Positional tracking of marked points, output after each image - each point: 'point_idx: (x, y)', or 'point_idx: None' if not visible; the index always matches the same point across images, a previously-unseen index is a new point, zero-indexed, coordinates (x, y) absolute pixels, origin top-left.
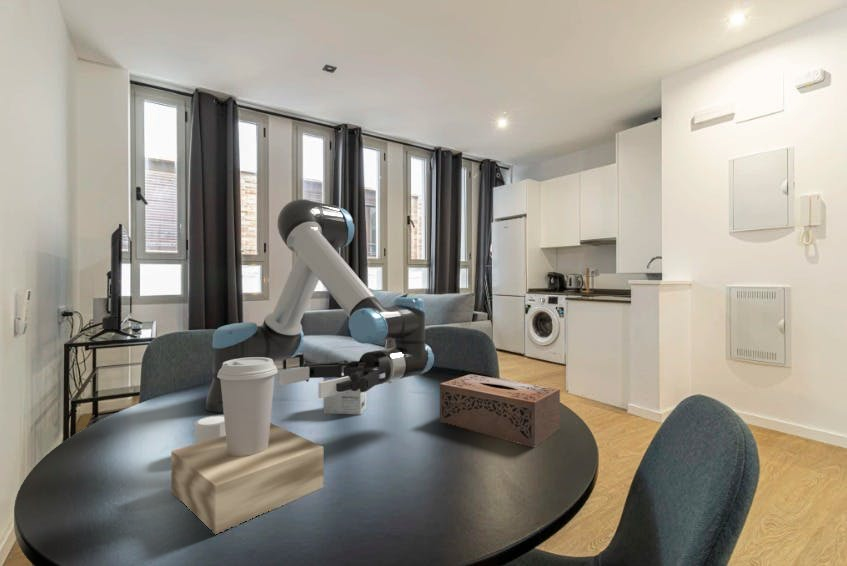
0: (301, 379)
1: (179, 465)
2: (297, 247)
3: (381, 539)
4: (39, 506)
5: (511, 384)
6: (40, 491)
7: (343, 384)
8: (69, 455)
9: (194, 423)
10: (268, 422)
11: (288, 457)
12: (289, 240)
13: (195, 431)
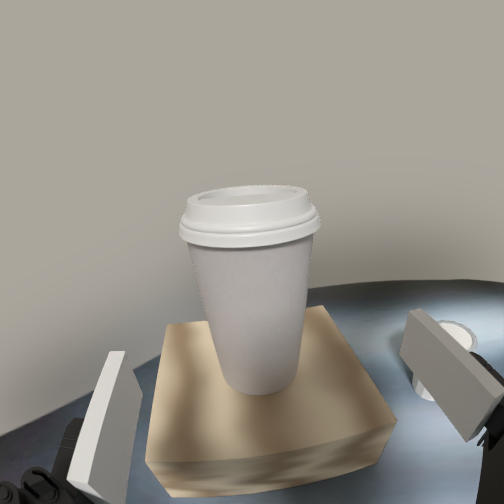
0: (448, 408)
1: None
2: None
3: (23, 449)
4: (349, 288)
5: None
6: (379, 285)
7: (67, 433)
8: (454, 285)
9: (440, 320)
10: (221, 348)
11: (161, 399)
12: None
13: None
